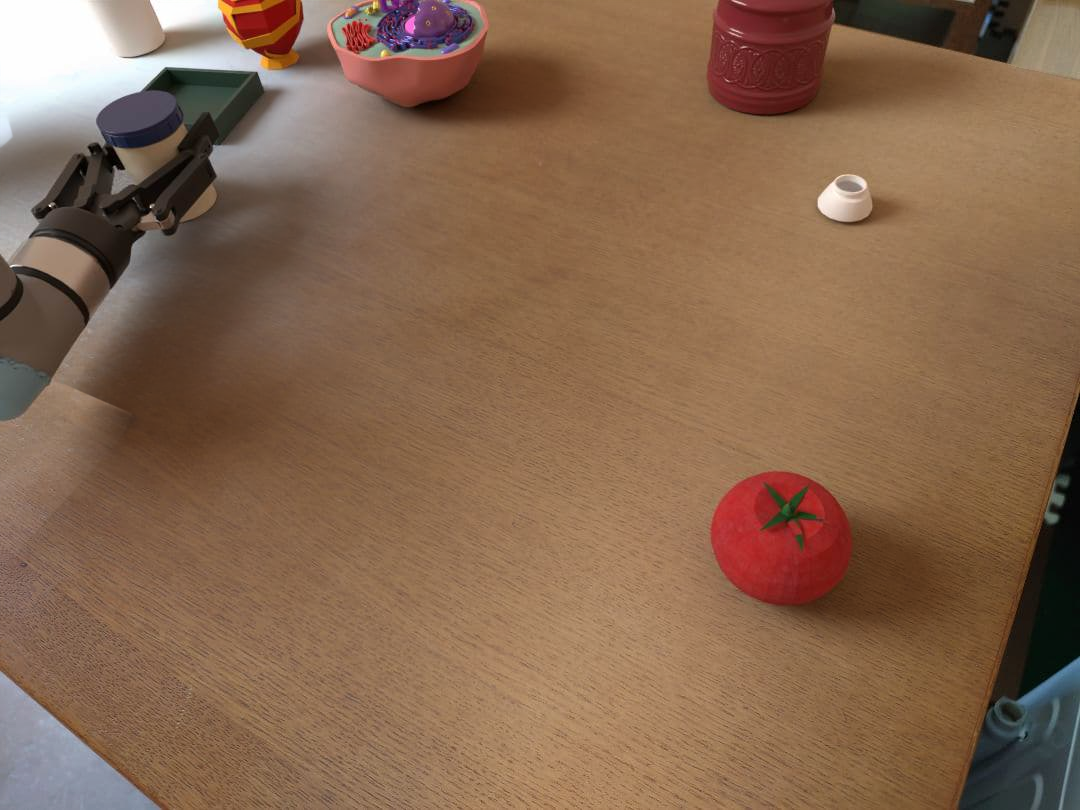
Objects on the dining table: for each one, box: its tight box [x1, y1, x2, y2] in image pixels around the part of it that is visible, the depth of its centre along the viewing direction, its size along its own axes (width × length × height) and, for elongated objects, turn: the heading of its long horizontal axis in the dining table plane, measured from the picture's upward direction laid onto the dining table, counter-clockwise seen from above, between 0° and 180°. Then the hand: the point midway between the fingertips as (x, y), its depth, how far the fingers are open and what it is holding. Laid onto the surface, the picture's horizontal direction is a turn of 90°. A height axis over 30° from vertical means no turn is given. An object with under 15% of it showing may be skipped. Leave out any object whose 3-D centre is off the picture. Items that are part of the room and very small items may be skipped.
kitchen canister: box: [706, 0, 836, 115], centre depth 84 cm, size 13×13×18 cm
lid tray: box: [139, 66, 265, 146], centre depth 96 cm, size 13×12×3 cm
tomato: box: [709, 470, 853, 607], centre depth 50 cm, size 9×9×8 cm
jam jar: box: [113, 122, 218, 224], centre depth 81 cm, size 7×7×10 cm
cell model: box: [326, 0, 490, 108], centre depth 92 cm, size 17×20×11 cm
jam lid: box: [95, 91, 184, 148], centre depth 77 cm, size 8×8×2 cm
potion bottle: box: [217, 0, 305, 71], centre depth 98 cm, size 10×10×15 cm
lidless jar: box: [817, 173, 874, 223], centre depth 75 cm, size 5×3×5 cm
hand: (176, 124), depth 83 cm, fingers closed on jam jar, 7 cm apart
